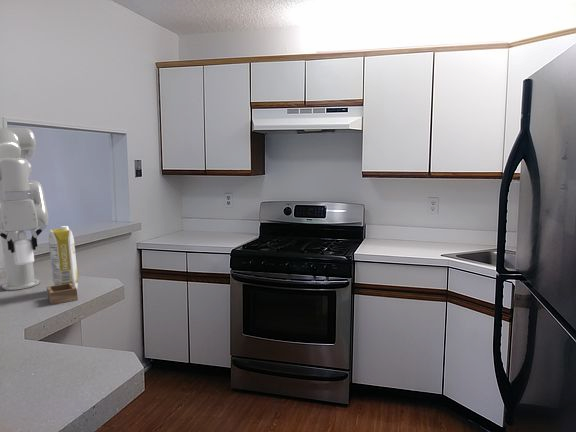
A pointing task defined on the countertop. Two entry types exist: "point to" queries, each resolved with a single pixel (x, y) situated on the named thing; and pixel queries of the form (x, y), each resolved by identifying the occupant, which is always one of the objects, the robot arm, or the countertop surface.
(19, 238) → the eye dropper bottle
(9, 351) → the countertop surface
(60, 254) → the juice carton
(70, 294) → the bottle holder
